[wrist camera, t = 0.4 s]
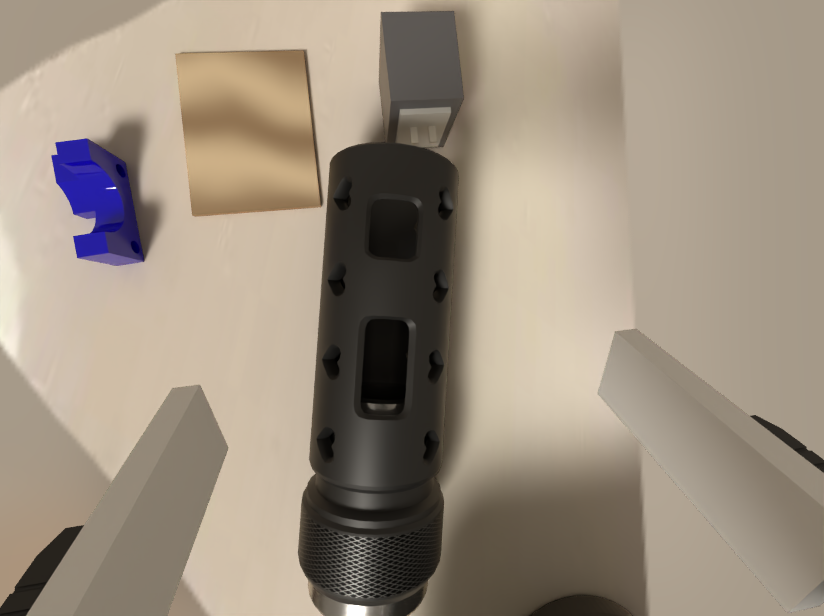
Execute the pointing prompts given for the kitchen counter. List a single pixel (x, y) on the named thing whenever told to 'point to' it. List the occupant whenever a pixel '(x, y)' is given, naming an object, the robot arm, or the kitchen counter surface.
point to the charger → (419, 77)
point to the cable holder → (99, 201)
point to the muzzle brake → (380, 381)
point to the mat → (247, 132)
